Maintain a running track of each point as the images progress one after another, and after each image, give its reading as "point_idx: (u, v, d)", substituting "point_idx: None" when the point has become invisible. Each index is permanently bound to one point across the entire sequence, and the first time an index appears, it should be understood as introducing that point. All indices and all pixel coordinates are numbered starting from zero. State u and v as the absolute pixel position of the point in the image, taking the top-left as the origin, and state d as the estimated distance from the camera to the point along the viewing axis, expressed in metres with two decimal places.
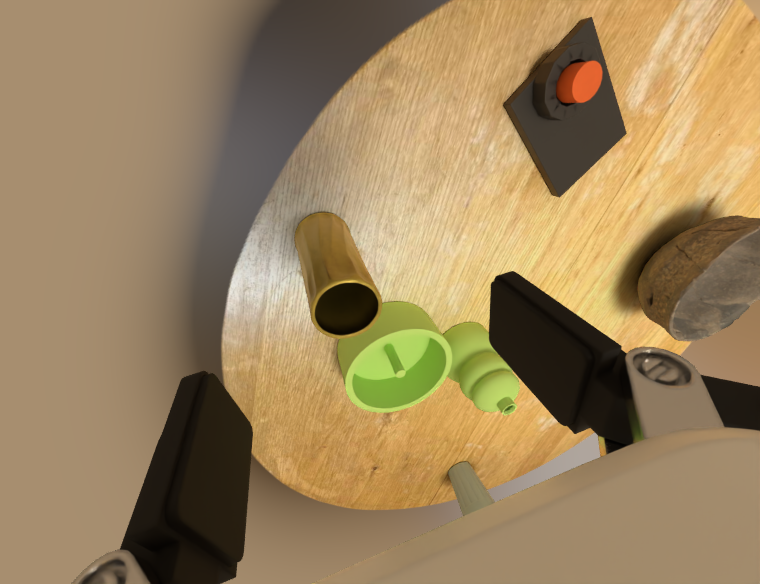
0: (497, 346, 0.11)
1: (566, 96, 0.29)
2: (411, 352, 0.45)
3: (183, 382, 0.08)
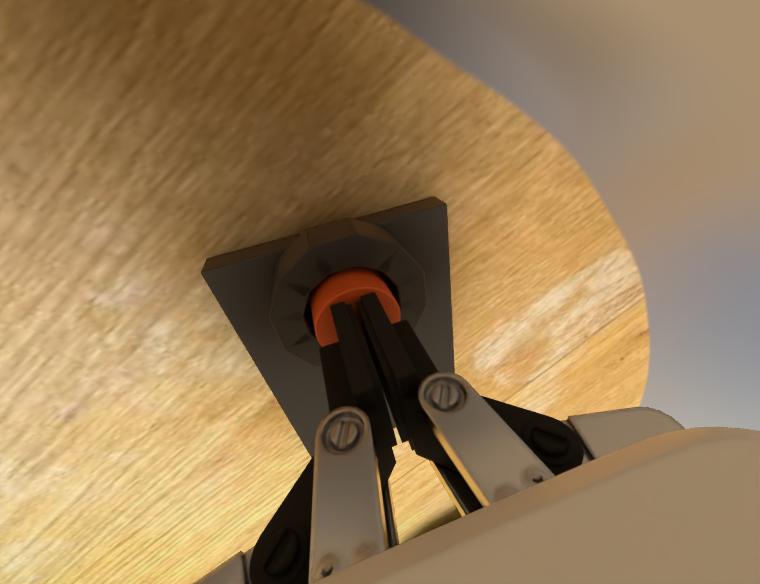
0: (372, 362, 0.11)
1: None
2: None
3: (333, 308, 0.10)
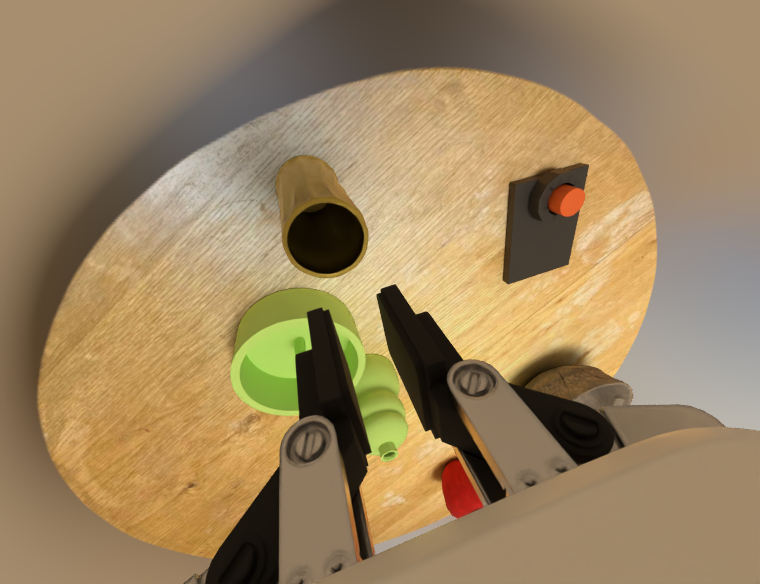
0: (391, 355, 0.11)
1: (555, 204, 0.35)
2: None
3: (310, 314, 0.10)
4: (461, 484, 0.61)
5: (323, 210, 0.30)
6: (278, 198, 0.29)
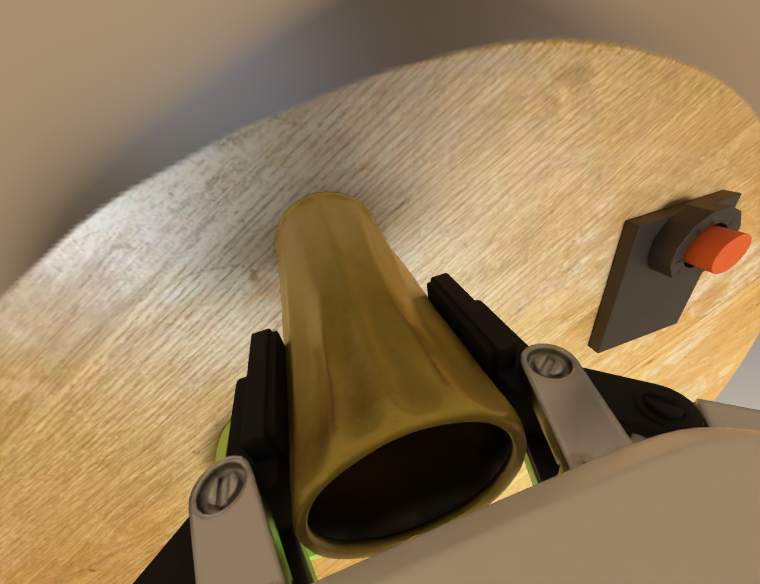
0: None
1: (702, 255, 0.23)
2: None
3: (254, 337, 0.09)
4: None
5: None
6: None
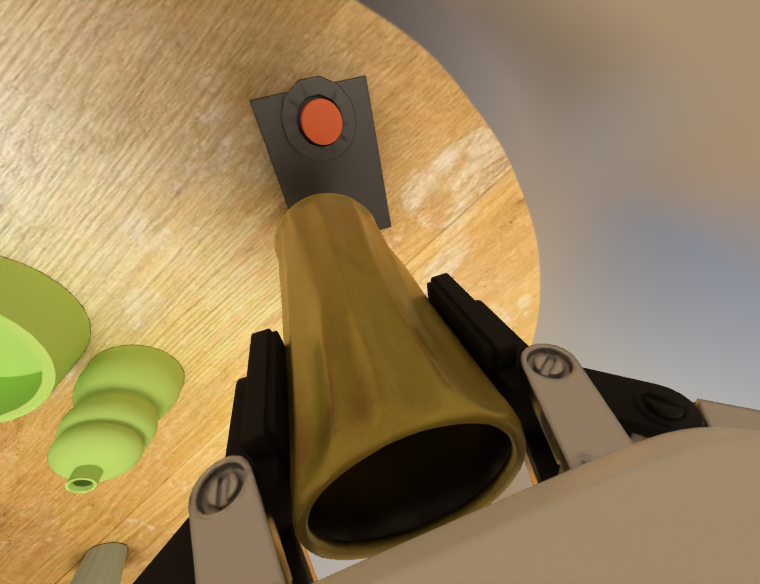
0: None
1: (301, 125, 0.24)
2: None
3: (254, 336, 0.09)
4: None
5: None
6: None
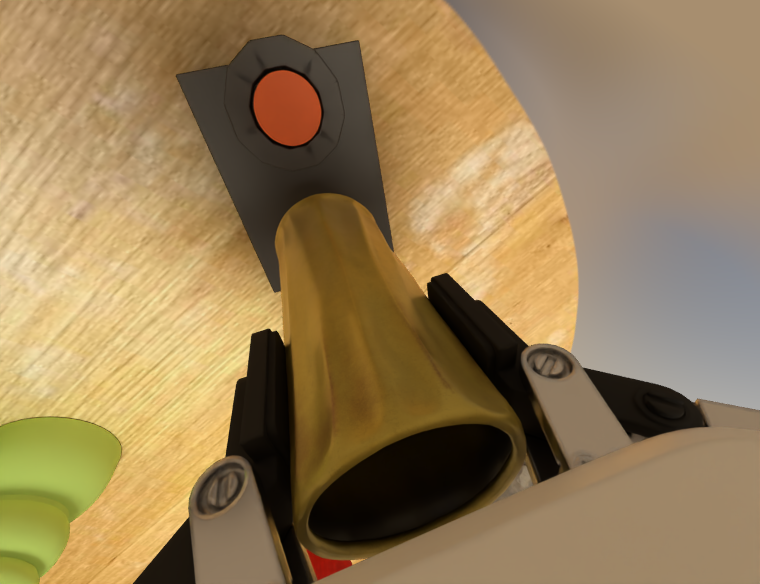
0: None
1: None
2: None
3: (254, 336, 0.09)
4: None
5: None
6: None
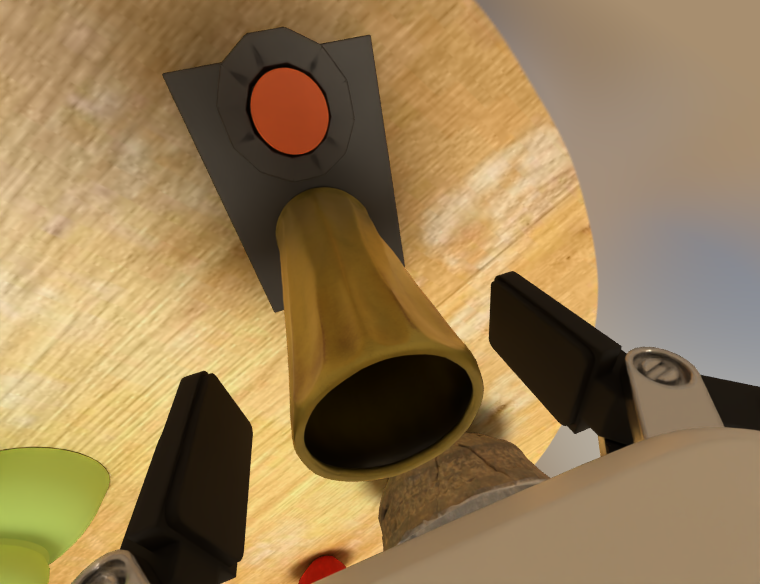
0: (498, 346, 0.11)
1: None
2: None
3: (183, 382, 0.08)
4: None
5: None
6: None
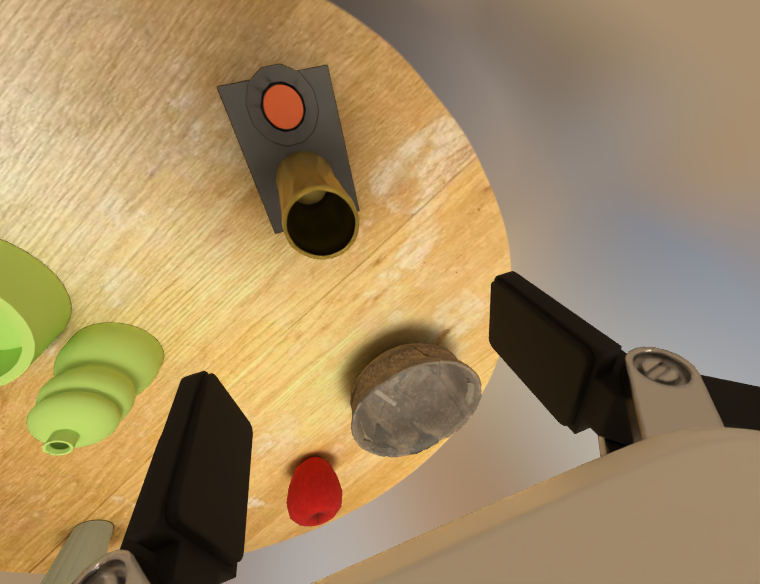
0: (498, 346, 0.11)
1: None
2: None
3: (183, 382, 0.08)
4: (302, 485, 0.52)
5: (320, 202, 0.32)
6: (278, 191, 0.31)
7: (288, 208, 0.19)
